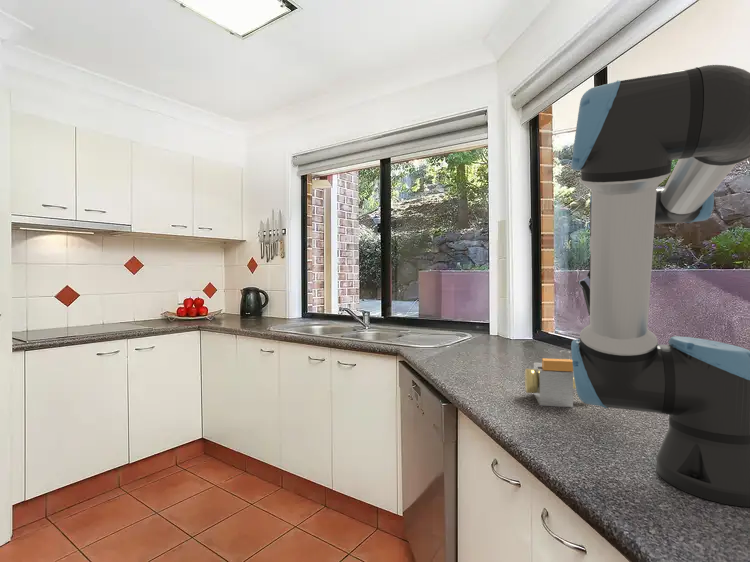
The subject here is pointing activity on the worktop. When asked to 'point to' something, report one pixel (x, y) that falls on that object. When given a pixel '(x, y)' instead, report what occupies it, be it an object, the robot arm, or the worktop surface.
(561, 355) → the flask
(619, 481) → the worktop surface
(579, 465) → the worktop surface
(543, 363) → the bar
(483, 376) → the worktop surface
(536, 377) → the pin
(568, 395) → the block
